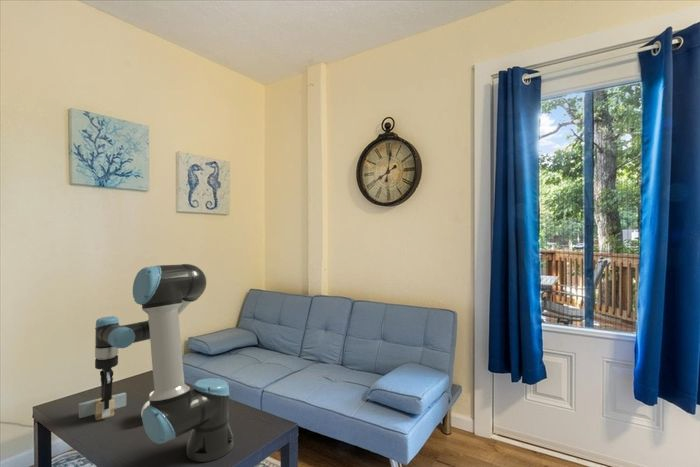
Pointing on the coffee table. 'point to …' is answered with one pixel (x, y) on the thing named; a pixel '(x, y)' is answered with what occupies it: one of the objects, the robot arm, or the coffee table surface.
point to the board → (89, 406)
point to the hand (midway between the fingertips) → (105, 416)
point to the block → (99, 408)
